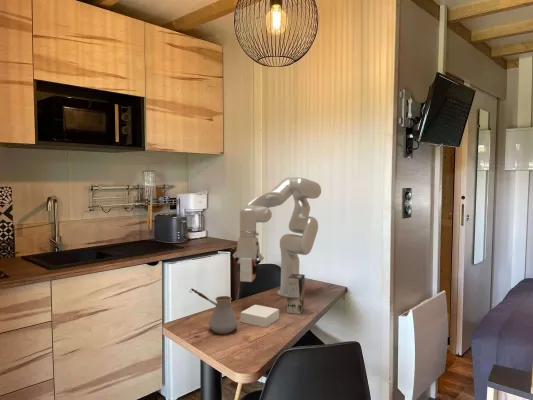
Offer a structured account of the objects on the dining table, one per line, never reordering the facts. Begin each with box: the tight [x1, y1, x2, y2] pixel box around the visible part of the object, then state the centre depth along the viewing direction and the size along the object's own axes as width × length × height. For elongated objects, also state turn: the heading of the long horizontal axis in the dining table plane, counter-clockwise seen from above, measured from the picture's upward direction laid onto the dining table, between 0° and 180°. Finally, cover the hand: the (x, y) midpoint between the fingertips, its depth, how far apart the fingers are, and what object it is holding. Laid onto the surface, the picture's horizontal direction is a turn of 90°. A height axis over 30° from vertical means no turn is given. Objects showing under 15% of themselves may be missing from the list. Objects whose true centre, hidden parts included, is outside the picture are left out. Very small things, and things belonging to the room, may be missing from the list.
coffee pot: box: [189, 288, 239, 335], centre depth 160 cm, size 21×12×15 cm, turn 67°
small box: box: [239, 258, 256, 283], centre depth 184 cm, size 8×6×10 cm
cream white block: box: [240, 304, 280, 328], centre depth 171 cm, size 12×12×4 cm
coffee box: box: [286, 273, 306, 315], centre depth 183 cm, size 9×6×16 cm
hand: (247, 272), depth 184 cm, fingers closed on small box, 6 cm apart
